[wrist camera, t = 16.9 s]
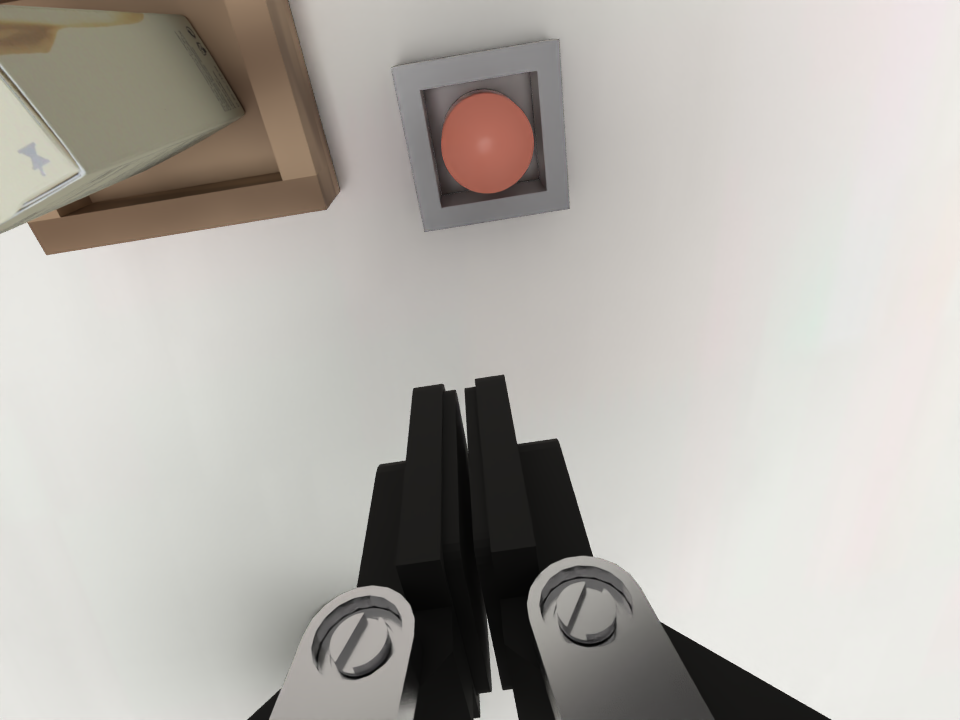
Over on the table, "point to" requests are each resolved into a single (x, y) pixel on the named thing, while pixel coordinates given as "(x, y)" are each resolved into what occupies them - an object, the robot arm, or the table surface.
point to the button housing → (547, 120)
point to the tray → (215, 138)
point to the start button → (486, 141)
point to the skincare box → (97, 102)
